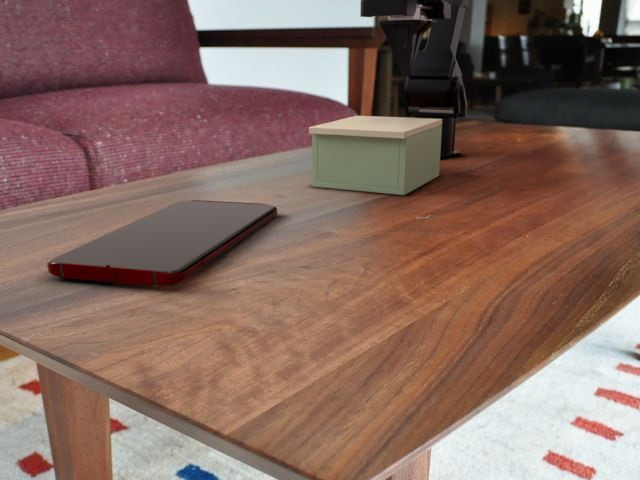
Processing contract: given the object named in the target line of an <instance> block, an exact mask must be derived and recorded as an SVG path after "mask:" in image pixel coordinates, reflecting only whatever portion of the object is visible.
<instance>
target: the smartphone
mask: <svg viewBox="0 0 640 480" xmlns="http://www.w3.org/2000/svg"><path fill="white" fill-rule="evenodd" d="M277 215H278V207H277V206H275V205H273V204H269V203H257V202H239V201H219V200H218V201H217V200H200V199H199V200H198V199H189V200H179V201H176V202H174V203H172V204H170V205H168V206H166V207H162V208H161V209H158V210H157V211H154V212H152V213H150V214H147V215H146V216H143V217H140V218H139V219H137V220H134V221H132V222H129V223H128V224H126V225H123V226H122V227H119V228H117V229H114V230H113V231H110V232H108V233H106V234H104V235H101V236H99V237H97V238H95V239H93V240H90V241H87V242H86V243H84V244H81V245H79V246H77V247H75V248H73V249H71V250H68V251H66V252H64V253H62V254H60V255H58V256H55V257H53V258H52V259H50V260H49V261H48V262H47V264H46V266H47V271H48V273H49V274H50V275H52V276H55V277H58V278H63V279H64V278H65V279H73V280H74V279H75V280H85V281H97V282H107V283H119V284H129V285H141V286H151V287H152V286H153V287H165V286H174V285H175V286H176V285H178V284H180V283H182V282H183V281H185V280H186V279H188V278H189V277H190V276H192V275H193V274H195V273H196V272H198V271H199V270H200V269H202V268H204V267H205V266H206V265H208V264H209V263H211V262H212V261H214V260H215V259H216V258H218V257H219V256H221V255H222V254H224V253H225V252H226V251H227V250H229V249H231V248H232V247H234V246H235V245H236V244H238V243H239V242H241V241H243V240H244V239H246V237H248V236H249V235H251V234H252V233H253V232H255V231H256V230H258V229H259V228H260V227H263V226H264V225H266V224H267V223H268V222H269V221H271V220H272V219H274V218H275V217H276V216H277Z"/></svg>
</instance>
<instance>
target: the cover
mask: <svg viewBox="0 0 640 480" xmlns="http://www.w3.org/2000/svg"><path fill="white" fill-rule="evenodd" d="M440 125H442V119H430V118H415V117H403V116H402V117H401V116H400V117H399V116H377V115H375V116H374V115H372V116H371V115H354V116H349V117H346V118H341V119H338V120H333V121H329V122H325V123H321V124H317V125H313V126H309V127H308V134H310V135H312V134H325V135H343V136H362V137H380V138H398V139H404V138H407V137H410V136H413V135H415V134H418V133H421V132H424V131H427V130H429V129H432V128H435V127H438V126H440Z"/></svg>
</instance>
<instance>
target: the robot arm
mask: <svg viewBox="0 0 640 480" xmlns="http://www.w3.org/2000/svg"><path fill="white" fill-rule="evenodd" d="M470 2H471V0H360V14H359V15H360V16H359V17H361V18H373V17H388V20H378V25H379V26H381V27H380V28H381V29H382V32H383V33H384V36H385V38H386V40H387V43H388V45H389V48H390V49H391V50H390V51H391V52H392V55H393V57H394V59H395V62H396V64H397V65H396V66H397V68H398V70H399V72H400V75H401V76H404V77H405V76H406V77H405V79H404V83H403V98H404V99H403V101H404V110H405V117H414V118H430V119H442V125H441V126H442V133H441V151H440V159H443V158H448V157H455V156H460V155H462V151H459V150H455V144H456V143H455V142H456V141H455V140H456V129H457V128H456V127H457V126H456V125H457V119H460V118H466V117H467V112H468V111H467V110H468V100H467V95H466V89H465V86H464V81H463V78H462V77H463V73H462V70H461V68H460V66H459V63H458V61H457V57H456V56H457V52H458V51H457V50H458V46H459V40H460V36H461V31H462V27H463V22H464V18H465V14H466V13H465V12H466V9H468V7H469V4H470ZM428 30H429V33H428V36H427V41H426V45H425V47H424V49H422V50H419V48H420V46H421V42H422V40H423V37H424V35H425V33H426V32H428ZM420 108H422V109H420ZM423 108H437V109H423ZM440 108H441V109H440ZM448 109H453V110H448Z"/></svg>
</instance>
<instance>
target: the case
mask: <svg viewBox="0 0 640 480" xmlns="http://www.w3.org/2000/svg"><path fill="white" fill-rule="evenodd" d="M441 133H442V126H441V125H440V126H438V127H435V128H432V129H429V130H427V131H424V132H421V133H418V134H415V135H413V136H410V137H407V138H404V139H398V138H380V137H362V136H343V135H325V134H311V156H312V158H311V159H312V161H311V162H312V166H311V167H312V188H322V189H323V188H324V189H333V190H343V191H344V190H345V191H355V192H365V193H375V194H376V193H377V194H385V195H386V194H388V195H398V196H405V195H407V194H409V193H411V192H413V191H414V190H416V189H418V188H420V187H422V186H423V185H425V184H427V183H429V182H430V181H433V180H435V179H436V178H437V177H439V176H440V166H441V158H440V151H441Z"/></svg>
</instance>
